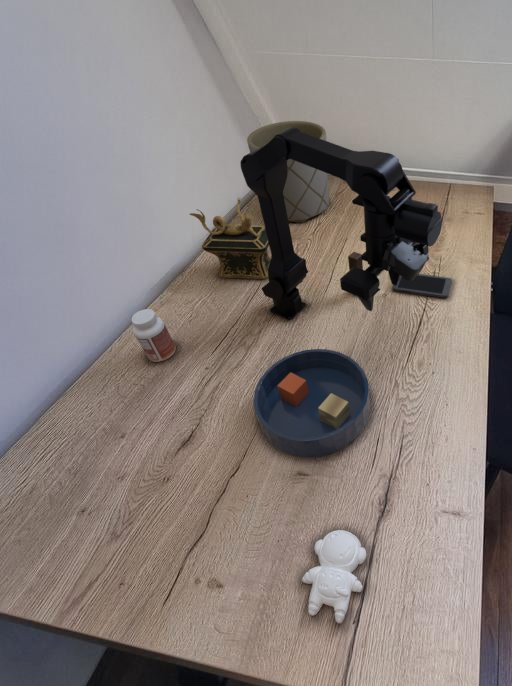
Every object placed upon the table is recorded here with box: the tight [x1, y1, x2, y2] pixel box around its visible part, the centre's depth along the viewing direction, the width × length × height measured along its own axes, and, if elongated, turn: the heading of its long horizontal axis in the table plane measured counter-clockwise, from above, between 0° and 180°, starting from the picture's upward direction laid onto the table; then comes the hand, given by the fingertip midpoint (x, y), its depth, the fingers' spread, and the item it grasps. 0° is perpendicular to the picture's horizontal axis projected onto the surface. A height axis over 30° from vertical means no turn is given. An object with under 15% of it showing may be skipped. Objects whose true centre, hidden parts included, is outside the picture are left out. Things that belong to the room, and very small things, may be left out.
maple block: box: [318, 393, 350, 429], centre depth 84 cm, size 4×4×4 cm
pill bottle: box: [131, 308, 176, 363], centre depth 98 cm, size 6×6×11 cm
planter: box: [246, 120, 330, 224], centre depth 139 cm, size 23×23×24 cm
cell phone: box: [392, 273, 453, 299], centre depth 114 cm, size 7×14×1 cm, turn 74°
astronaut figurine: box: [301, 529, 367, 624], centre depth 65 cm, size 9×12×3 cm
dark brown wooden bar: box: [347, 251, 364, 271], centre depth 110 cm, size 2×2×11 cm
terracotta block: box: [278, 372, 309, 406], centre depth 89 cm, size 4×4×4 cm
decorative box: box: [188, 197, 271, 280], centre depth 117 cm, size 20×10×20 cm, turn 83°
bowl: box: [253, 348, 371, 459], centre depth 86 cm, size 21×21×6 cm
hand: (382, 297), depth 90 cm, fingers open, 9 cm apart
